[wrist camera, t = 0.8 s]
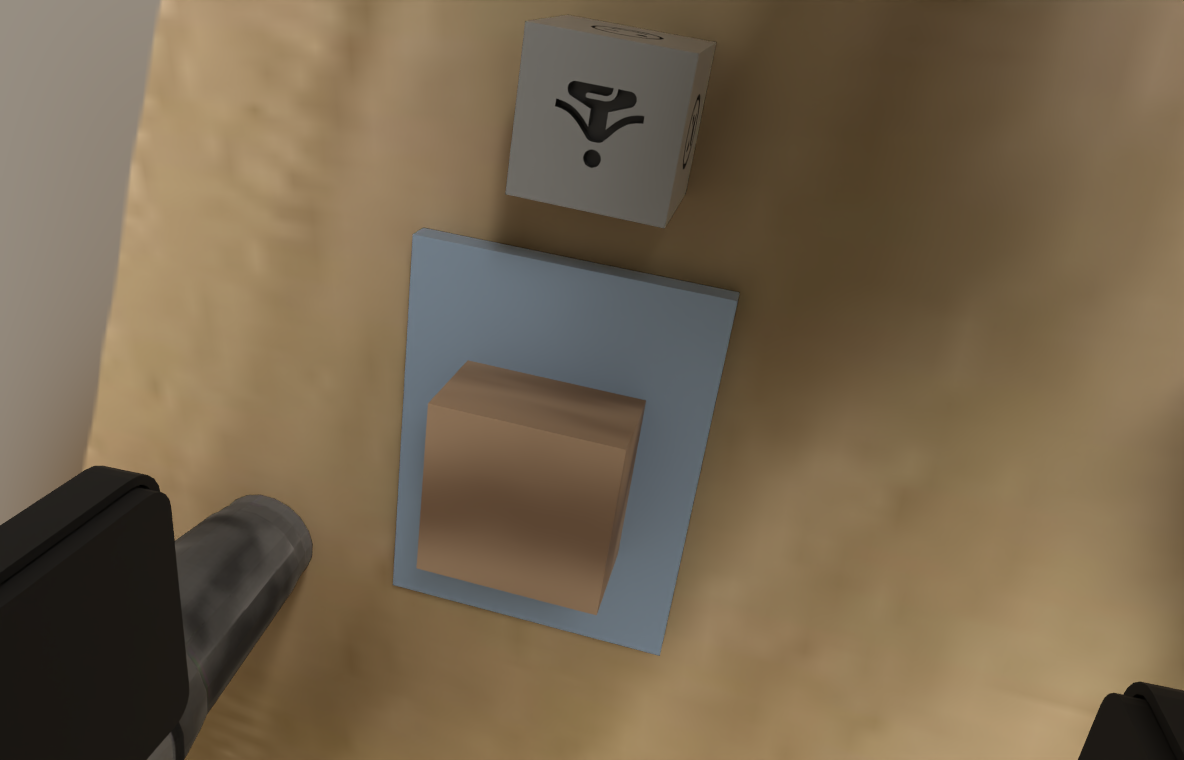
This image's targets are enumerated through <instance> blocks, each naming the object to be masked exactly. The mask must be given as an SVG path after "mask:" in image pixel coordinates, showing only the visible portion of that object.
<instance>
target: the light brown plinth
mask: <svg viewBox="0 0 1184 760" xmlns="http://www.w3.org/2000/svg"><path fill="white" fill-rule="evenodd" d="M645 404H646V400H642V399H638V398H633V397H629V396H624V395H620V394H615V393H611V392H606V391H602V390H598V389H593V388H589V387H584V386H580V385H575V384H571V383H566V382H562V381H558V380H553V379H549V378H544V377H540V376H535V375H531V374H526V373H522V372H518V371H513V370H509V369H504V368H500V367H495V366H491V365H487V364H482V363H478V362H473V361H469V360H468V361H467V362H466V363H465V364H464V365H463V366H462V367H461V368H460V369H459V370H458V371H457V372H456V374H455V375H454V376H453V377H452V378H451V379H450V380H449V381H448V382H447V383H446V384H445V385H444V387H443V388H442V389H441V390H440V391H439V392H438V393H437V394H436V395H435V396H434V397H433V398H432V400H431V401H430V402H429V403H428V410H427V424H426V439H425V453H424V467H423V482H422V496H421V510H420V525H419V539H418V553H417V569H421V570H425V571H429V572H432V573H436V574H440V575H444V576H448V577H452V578H455V579H459V580H463V581H467V582H471V583H474V584H478V585H482V586H486V587H490V588H494V589H497V590H501V591H505V592H509V593H513V594H517V595H520V596H524V597H528V598H532V599H536V600H539V601H543V602H547V603H551V604H555V605H559V606H562V607H566V608H570V609H574V610H578V611H581V612H585V613H589V614H593V615H597V613H598V610H599V607H600V604H601V602H602V599H603V596H604V593H605V590H606V587H607V584H608V581H609V578H610V576H611V573H612V570H613V567H614V564H615V561H616V558H617V555H618V551H619V546H620V540H621V535H622V529H623V524H624V518H625V513H626V508H627V502H628V497H629V491H630V486H631V480H632V475H633V469H634V464H635V459H636V453H637V448H638V442H639V437H640V431H641V426H642V420H643V415H644V410H645Z"/></svg>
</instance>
